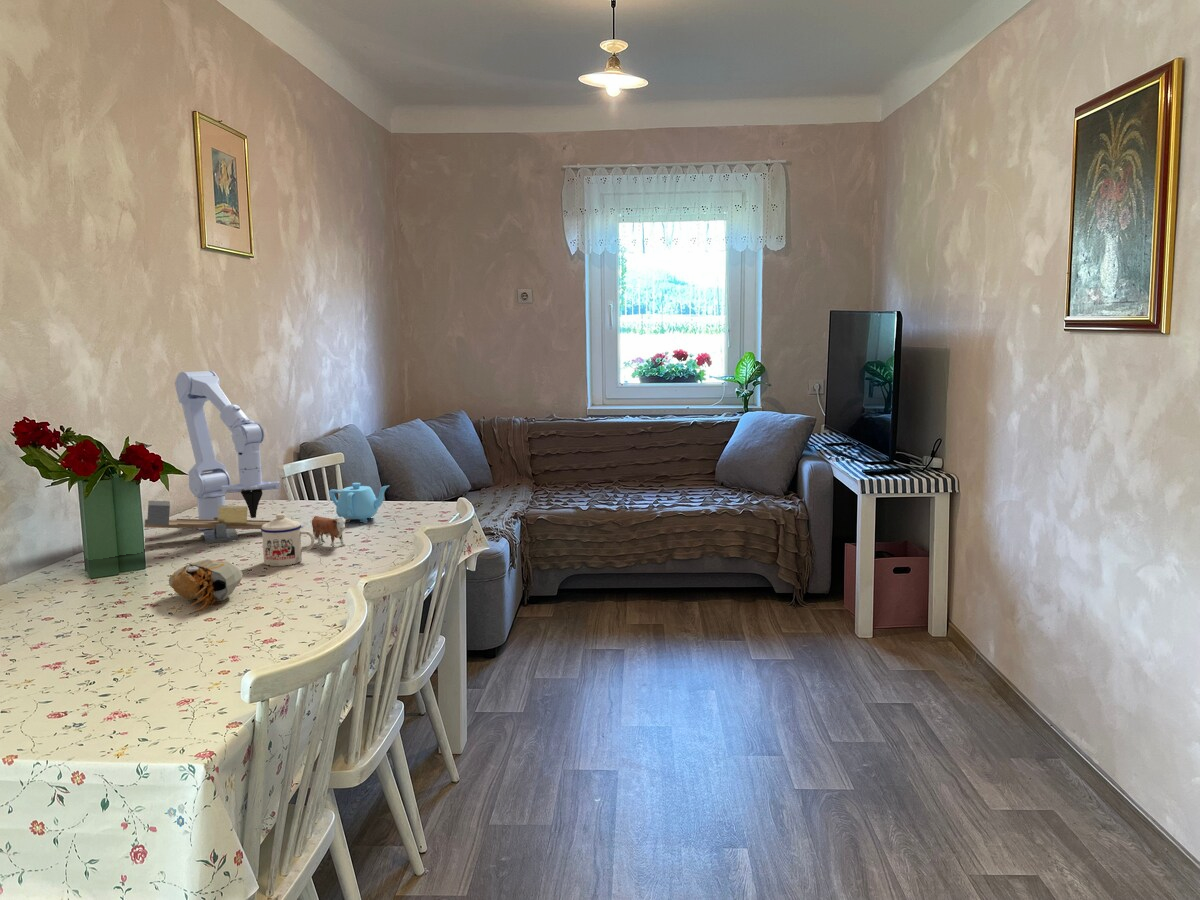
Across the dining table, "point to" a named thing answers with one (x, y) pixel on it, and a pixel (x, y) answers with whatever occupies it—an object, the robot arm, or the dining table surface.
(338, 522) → the bull figurine
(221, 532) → the pivot stand
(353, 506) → the teapot
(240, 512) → the block
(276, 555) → the teacup with lid
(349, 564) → the dining table surface
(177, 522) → the beam
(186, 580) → the nautilus
